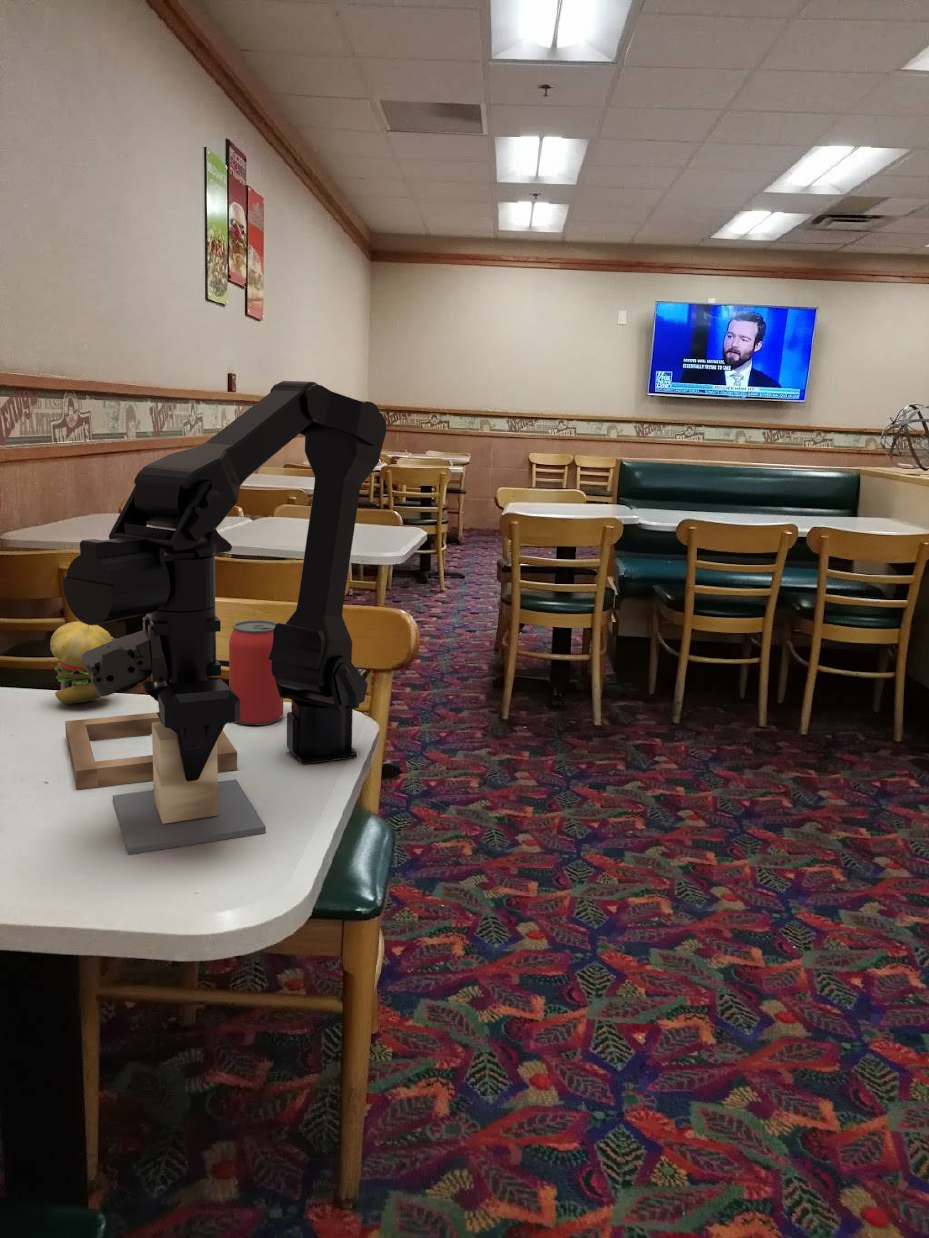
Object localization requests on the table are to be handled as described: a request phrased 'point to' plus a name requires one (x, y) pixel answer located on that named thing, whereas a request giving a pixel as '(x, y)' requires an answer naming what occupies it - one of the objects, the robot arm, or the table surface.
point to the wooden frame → (125, 768)
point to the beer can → (254, 672)
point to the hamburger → (76, 659)
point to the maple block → (181, 781)
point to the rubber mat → (185, 821)
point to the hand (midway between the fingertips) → (186, 768)
